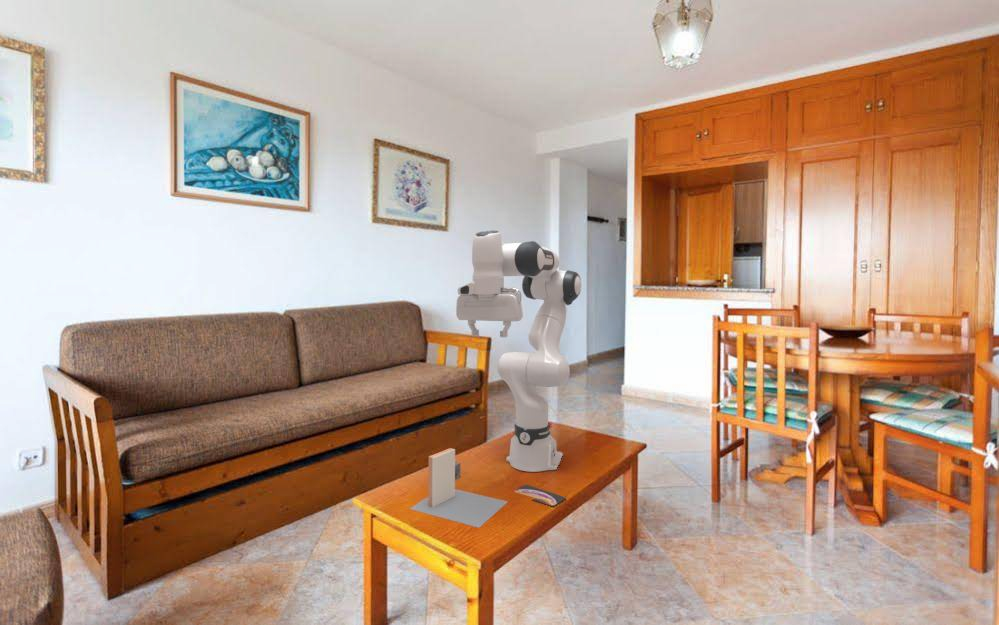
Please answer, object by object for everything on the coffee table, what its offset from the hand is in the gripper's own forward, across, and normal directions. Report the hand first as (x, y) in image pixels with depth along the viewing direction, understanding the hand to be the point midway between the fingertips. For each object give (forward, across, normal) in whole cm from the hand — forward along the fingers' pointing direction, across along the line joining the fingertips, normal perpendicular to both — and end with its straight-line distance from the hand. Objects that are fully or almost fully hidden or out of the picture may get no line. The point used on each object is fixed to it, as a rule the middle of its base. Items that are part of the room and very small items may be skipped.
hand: (489, 336), depth 141 cm
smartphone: (+49, -11, -9) cm, 51 cm away
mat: (+47, +6, +9) cm, 49 cm away
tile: (+47, +12, +9) cm, 49 cm away
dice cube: (+48, +19, -6) cm, 52 cm away
